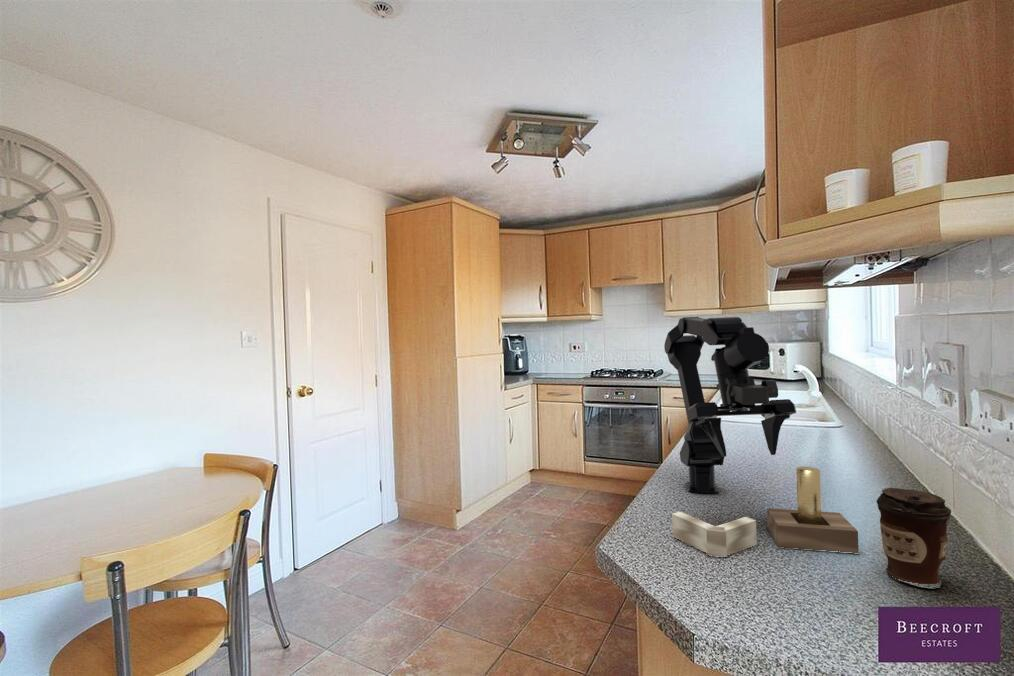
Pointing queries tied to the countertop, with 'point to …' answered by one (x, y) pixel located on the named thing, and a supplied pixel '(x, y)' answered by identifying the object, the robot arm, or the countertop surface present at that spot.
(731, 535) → the v block
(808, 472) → the axle
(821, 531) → the bore block
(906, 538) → the coffee cup
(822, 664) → the countertop surface
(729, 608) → the countertop surface
